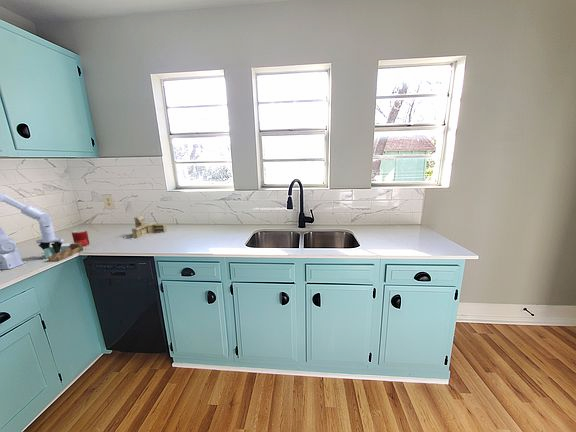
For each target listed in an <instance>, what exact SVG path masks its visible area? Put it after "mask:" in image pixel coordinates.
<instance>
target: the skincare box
mask: <svg viewBox="0 0 576 432" xmlns="http://www.w3.org/2000/svg"><path fill="white" fill-rule="evenodd" d="M72 243H73V242H71V243H70V242H67V243H62V245H61V248H60V250H61V251H64V250H66V249H68V248H70V244H72ZM50 247H52V245H50Z"/></svg>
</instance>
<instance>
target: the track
mask: <svg viewBox="0 0 576 432" xmlns="http://www.w3.org/2000/svg"><path fill="white" fill-rule="evenodd" d="M71 243H72V244H70V248H68V249H66V250H64V251H61V252H59V253H57V254H54V255H52V256H49V257H48V259H47V260H48V262H50V263H51V262H60V261H63V260H65V259H67V258H69V257H71V256H74V255H76V254H78V253H81V252H83V251H84V247H82V243H74V242H71Z"/></svg>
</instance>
